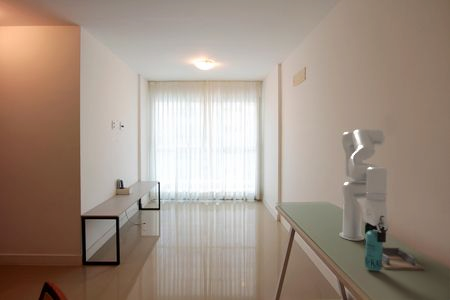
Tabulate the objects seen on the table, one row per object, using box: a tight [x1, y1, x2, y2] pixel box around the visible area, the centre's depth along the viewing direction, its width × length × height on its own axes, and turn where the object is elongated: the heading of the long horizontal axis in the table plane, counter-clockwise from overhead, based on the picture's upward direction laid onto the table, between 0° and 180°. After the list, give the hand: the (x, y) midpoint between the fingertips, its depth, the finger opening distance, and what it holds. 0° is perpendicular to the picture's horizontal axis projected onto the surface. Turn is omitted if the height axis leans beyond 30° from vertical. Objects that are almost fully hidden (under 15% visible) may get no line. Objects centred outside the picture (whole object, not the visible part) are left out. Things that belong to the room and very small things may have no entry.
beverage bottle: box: [364, 224, 384, 272], centre depth 113 cm, size 6×7×20 cm
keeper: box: [382, 246, 424, 271], centre depth 123 cm, size 16×16×4 cm
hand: (374, 237), depth 113 cm, fingers open, 9 cm apart
